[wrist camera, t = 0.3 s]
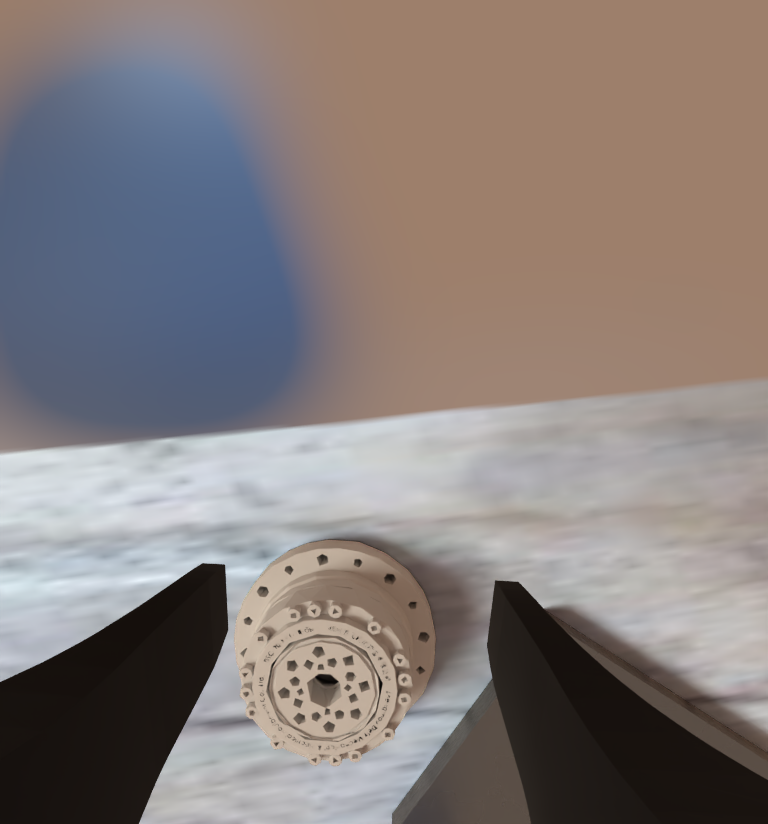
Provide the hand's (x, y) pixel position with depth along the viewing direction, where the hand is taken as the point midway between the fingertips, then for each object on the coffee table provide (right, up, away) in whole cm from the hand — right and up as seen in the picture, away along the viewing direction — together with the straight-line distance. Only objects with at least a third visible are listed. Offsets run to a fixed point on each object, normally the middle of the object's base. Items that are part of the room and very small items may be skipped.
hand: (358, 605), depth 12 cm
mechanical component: (-2, -6, +12) cm, 13 cm away
